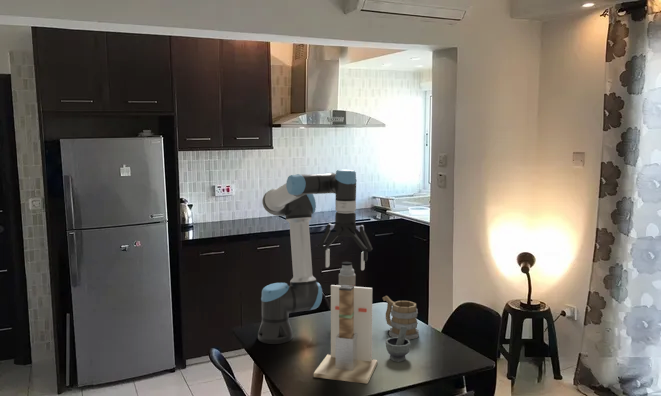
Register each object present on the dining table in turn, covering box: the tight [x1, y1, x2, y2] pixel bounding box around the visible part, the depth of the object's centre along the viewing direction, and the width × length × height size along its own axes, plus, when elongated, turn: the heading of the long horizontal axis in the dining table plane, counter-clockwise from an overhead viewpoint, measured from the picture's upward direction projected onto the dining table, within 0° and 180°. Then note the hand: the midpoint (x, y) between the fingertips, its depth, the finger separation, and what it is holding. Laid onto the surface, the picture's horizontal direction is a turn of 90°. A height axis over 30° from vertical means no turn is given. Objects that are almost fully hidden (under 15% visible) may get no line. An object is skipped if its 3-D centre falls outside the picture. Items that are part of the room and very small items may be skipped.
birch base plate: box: [313, 353, 378, 384], centre depth 204 cm, size 20×18×2 cm
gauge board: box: [330, 284, 373, 361], centre depth 209 cm, size 16×2×28 cm, turn 74°
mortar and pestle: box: [385, 326, 411, 363], centre depth 215 cm, size 11×9×12 cm
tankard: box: [382, 295, 420, 341], centre depth 244 cm, size 20×13×15 cm, turn 34°
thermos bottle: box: [338, 261, 356, 287], centre depth 260 cm, size 8×8×28 cm
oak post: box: [339, 285, 354, 338], centre depth 202 cm, size 5×5×24 cm
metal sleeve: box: [336, 333, 357, 371], centre depth 203 cm, size 7×7×12 cm
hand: (345, 268), depth 203 cm, fingers open, 13 cm apart
